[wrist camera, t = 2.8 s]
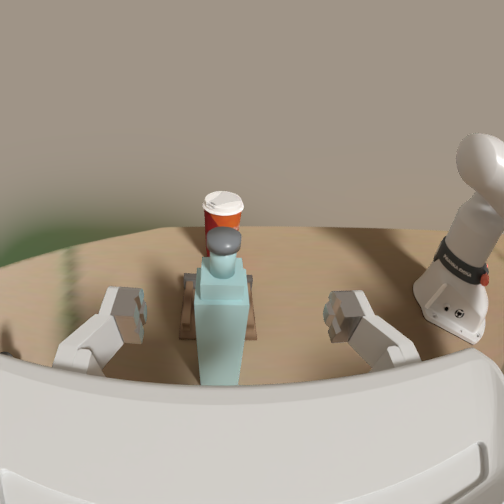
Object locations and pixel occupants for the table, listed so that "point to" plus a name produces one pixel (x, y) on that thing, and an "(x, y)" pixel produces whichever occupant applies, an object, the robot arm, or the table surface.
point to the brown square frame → (189, 314)
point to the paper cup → (222, 211)
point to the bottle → (221, 309)
